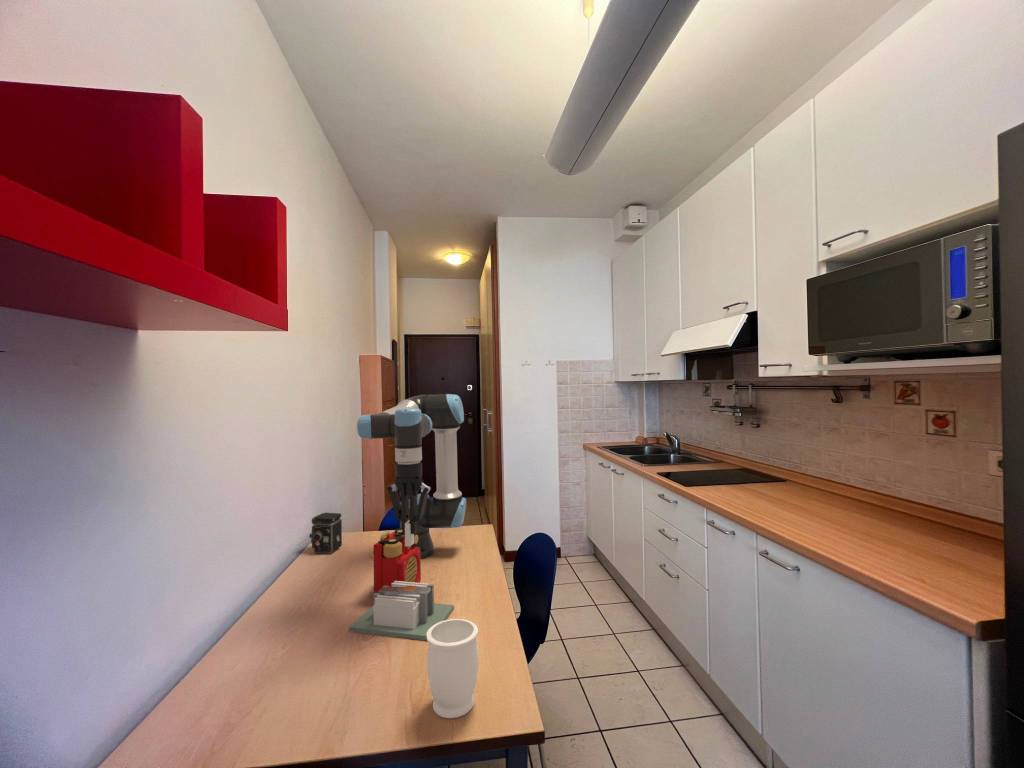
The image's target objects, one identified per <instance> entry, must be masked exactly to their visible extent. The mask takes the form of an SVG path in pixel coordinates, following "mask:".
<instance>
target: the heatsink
mask: <svg viewBox="0 0 1024 768" xmlns="http://www.w3.org/2000/svg"><path fill="white" fill-rule="evenodd" d="M406 586H417V587H431V591H430V592H429V593H428V594H427V592H422V591H421V592H420V595H389V594H383V595H381V593H375V594H374V593H373V605H372V606H371V607H369V608H368V610H366V611H365V612H364V613H363V614H362V615H361V616H360V617H359V618H357V619H356V620H355V621H354V622H352V624H351V625H350V626H348V632H350V633H358V634H366V635H373V636H374V635H375V636H382V637H393V638H401V639H408V640H409V639H410V640H418V641H424V642H425V641H426V642H428V641H427V632H428V630H429V629H430V628H431V627H432V626H433V625H435V624H436V623H439V622H441V621H444V620H448V618H449V617H450V615H451V614H452V613H453V611H454V610H455V605H453V604H447V603H446V604H444V603H437V602H436V603H435V602H434V601H435V594H434V592H435V591H434V589H435V588H434V586H435V585H434V584H431V583H425V582H424V583H423V582H420V583H414V582H402V581H394V583H392V587H406ZM383 587H389V586H383ZM383 587H382V588H383Z"/></svg>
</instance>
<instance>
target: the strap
mask: <svg viewBox="0 0 1024 768" xmlns="http://www.w3.org/2000/svg"><path fill="white" fill-rule="evenodd" d="M421 591H422V592H427V594H428V593H429V592H430V591H431V587H417V586H406V587H383V588H382V589H380V590H379V591H378V592H379V593H381V595H383V594H389V595H420V592H421Z"/></svg>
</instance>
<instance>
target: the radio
mask: <svg viewBox="0 0 1024 768" xmlns="http://www.w3.org/2000/svg"><path fill="white" fill-rule="evenodd" d="M417 543H418V533H415V534H414V544H413V545H411V546H410V547H409V546H405V533H403V532H402V528H400V527H399V528H396V529H394V531H393V532H391V533H390V531H385V532H384V533H382V534H381V536H380V539H379V540H378V541H377V542H376V543H375V544H373V595H374V594H375V593H379V592H378V591H379V590H380V589H382V587H383V586H389V587H392V583H394V581H402V582H414V583H421V580H422V579H421V578H422V571H421V569H422V567H421V565H422V563H421V560H422V559H421V551H420V547H415V546H416V545H417Z"/></svg>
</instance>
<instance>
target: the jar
mask: <svg viewBox="0 0 1024 768" xmlns="http://www.w3.org/2000/svg"><path fill="white" fill-rule="evenodd" d="M478 635H479V629H478V626H477V625H476V623H474V622H472V621H471V620H468V619H464V618H463V619H462V618H451V619H447V620H444V621H441V622H439V623H436V624H435V625H433V626H432V627H431V628H430V629H429V630H428V632H427V641H426V642H427V643H428V648H427V655H426V670H427V672H426V673H427V677H428V680H429V681H428V682H429V687H430V693H431V696H432V698H433V701H432V709H433V712H434V713H435V714H436V715H437V716H439V717H440V718H444V719H455V718H461V717H463V716H465V715H466V714H468V713H469V712H470V711H471V709H473V707H474V705H475V697H474V692H475V689H476V685H477V678H478V671H479V663H480V662H479V659H480V657H479V656H480V655H479V648H478V647H479V646H478V641H477V638H478Z"/></svg>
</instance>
